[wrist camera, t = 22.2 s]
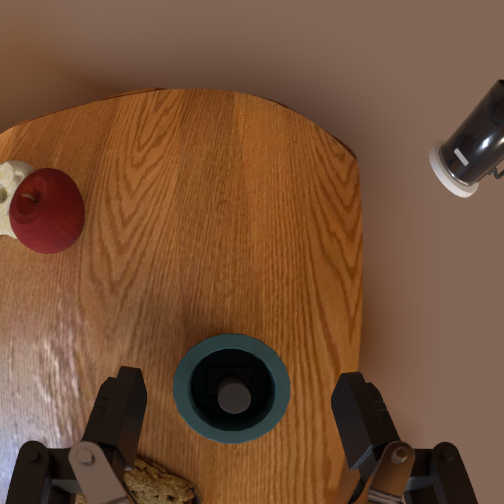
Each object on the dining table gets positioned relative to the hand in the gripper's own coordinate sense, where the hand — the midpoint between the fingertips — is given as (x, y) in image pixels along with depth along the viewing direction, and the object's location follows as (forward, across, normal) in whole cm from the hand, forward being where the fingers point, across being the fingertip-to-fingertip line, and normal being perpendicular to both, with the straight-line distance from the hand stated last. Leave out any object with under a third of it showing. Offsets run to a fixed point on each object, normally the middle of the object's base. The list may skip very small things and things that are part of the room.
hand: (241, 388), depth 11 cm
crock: (+13, 0, +15) cm, 20 cm away
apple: (+25, +22, +4) cm, 33 cm away
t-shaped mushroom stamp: (+13, 0, +15) cm, 19 cm away
